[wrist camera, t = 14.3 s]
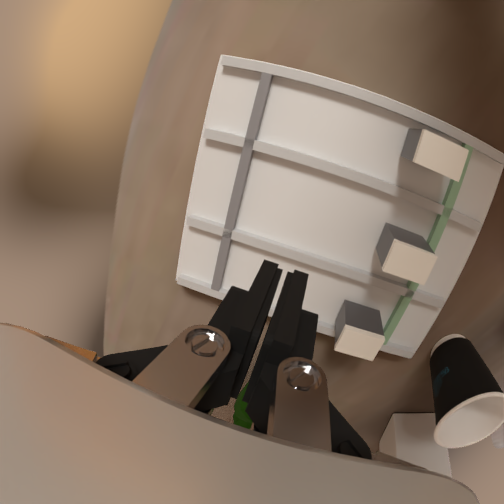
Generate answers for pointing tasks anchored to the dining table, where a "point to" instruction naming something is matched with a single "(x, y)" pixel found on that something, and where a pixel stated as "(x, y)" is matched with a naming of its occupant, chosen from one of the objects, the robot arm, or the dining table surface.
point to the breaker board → (327, 196)
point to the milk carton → (415, 442)
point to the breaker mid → (405, 254)
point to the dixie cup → (463, 394)
